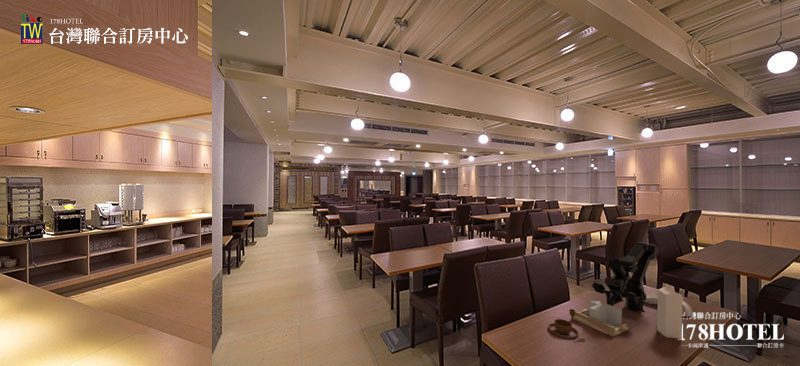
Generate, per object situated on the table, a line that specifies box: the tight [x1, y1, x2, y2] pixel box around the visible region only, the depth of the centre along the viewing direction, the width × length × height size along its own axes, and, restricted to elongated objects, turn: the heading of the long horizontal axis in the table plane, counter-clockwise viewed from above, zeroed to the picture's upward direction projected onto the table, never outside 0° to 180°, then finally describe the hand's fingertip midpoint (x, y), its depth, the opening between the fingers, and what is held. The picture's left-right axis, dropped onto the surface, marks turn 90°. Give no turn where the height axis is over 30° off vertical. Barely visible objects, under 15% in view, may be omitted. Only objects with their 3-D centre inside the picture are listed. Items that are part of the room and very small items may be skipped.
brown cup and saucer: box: [548, 308, 586, 343], centre depth 130 cm, size 18×20×6 cm
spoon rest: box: [643, 292, 694, 318], centre depth 155 cm, size 24×12×7 cm, turn 19°
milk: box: [656, 283, 683, 340], centre depth 127 cm, size 6×6×22 cm
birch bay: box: [573, 308, 629, 337], centre depth 136 cm, size 13×18×4 cm
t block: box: [589, 299, 623, 328], centre depth 137 cm, size 12×12×8 cm
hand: (608, 307), depth 140 cm, fingers closed, pressing on t block
